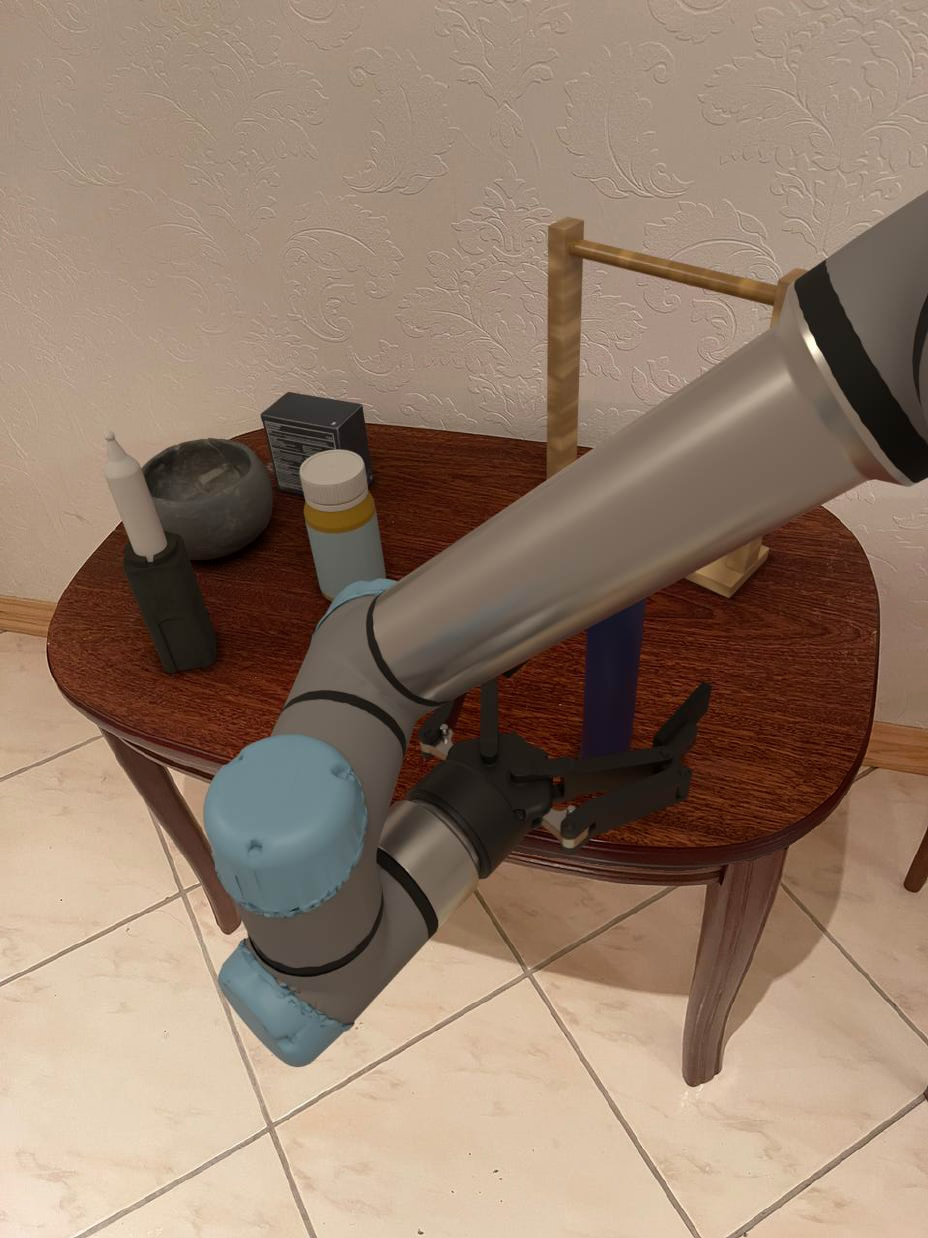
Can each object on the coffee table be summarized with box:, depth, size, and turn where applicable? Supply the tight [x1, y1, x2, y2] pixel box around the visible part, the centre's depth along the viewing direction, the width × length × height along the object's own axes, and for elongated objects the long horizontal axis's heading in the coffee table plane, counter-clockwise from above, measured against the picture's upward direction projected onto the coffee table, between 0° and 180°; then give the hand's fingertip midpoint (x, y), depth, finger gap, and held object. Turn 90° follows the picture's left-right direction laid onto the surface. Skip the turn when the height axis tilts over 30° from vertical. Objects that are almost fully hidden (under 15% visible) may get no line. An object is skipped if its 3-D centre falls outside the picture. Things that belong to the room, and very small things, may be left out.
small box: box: [259, 391, 374, 497], centre depth 105 cm, size 11×6×10 cm, turn 66°
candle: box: [103, 430, 217, 675], centre depth 79 cm, size 5×5×25 cm
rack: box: [546, 216, 809, 599], centre depth 87 cm, size 25×8×31 cm, turn 48°
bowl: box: [141, 437, 274, 561], centre depth 98 cm, size 15×15×10 cm
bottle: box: [300, 450, 387, 603], centre depth 89 cm, size 7×7×15 cm
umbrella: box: [577, 597, 648, 759], centre depth 67 cm, size 10×4×26 cm, turn 138°
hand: (626, 655), depth 68 cm, fingers open, 13 cm apart
